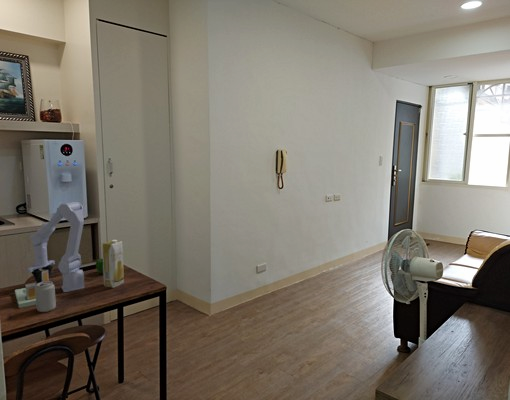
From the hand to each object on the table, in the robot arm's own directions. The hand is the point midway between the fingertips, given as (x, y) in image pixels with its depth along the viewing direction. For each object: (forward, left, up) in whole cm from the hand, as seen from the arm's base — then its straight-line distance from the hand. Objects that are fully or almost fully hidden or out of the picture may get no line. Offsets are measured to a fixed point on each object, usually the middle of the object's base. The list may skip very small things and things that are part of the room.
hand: (42, 281), depth 193 cm
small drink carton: (0, 0, -2) cm, 2 cm away
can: (+3, +33, -2) cm, 33 cm away
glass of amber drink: (+7, +20, -2) cm, 21 cm away
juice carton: (-30, +20, -2) cm, 36 cm away
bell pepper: (-31, -2, -2) cm, 31 cm away
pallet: (+7, +15, -2) cm, 17 cm away
